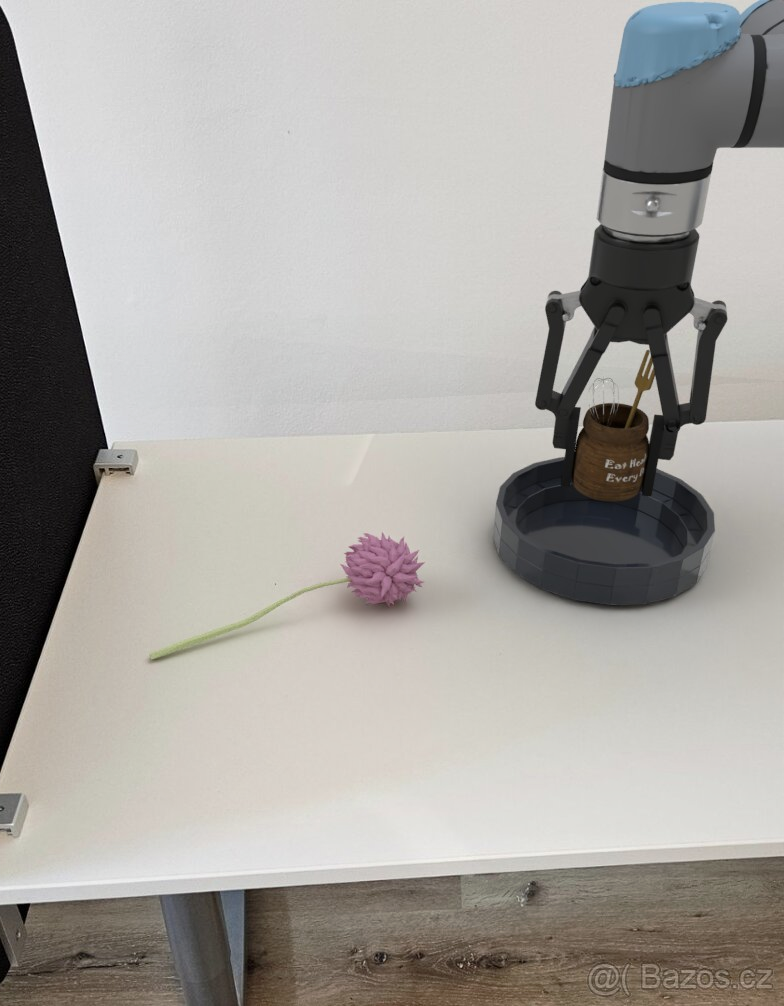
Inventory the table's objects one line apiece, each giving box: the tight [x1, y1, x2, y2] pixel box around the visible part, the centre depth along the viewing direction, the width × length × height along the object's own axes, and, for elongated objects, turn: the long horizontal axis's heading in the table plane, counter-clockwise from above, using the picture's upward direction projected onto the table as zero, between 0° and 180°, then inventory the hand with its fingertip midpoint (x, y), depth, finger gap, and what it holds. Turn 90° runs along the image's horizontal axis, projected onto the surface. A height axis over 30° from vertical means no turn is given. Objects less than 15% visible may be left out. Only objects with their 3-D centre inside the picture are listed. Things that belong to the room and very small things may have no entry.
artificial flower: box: [148, 531, 426, 661], centre depth 91 cm, size 7×7×25 cm
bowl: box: [492, 456, 716, 606], centre depth 97 cm, size 18×18×4 cm
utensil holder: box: [572, 349, 656, 502], centre depth 91 cm, size 6×6×12 cm
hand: (606, 482), depth 94 cm, fingers closed on utensil holder, 6 cm apart
